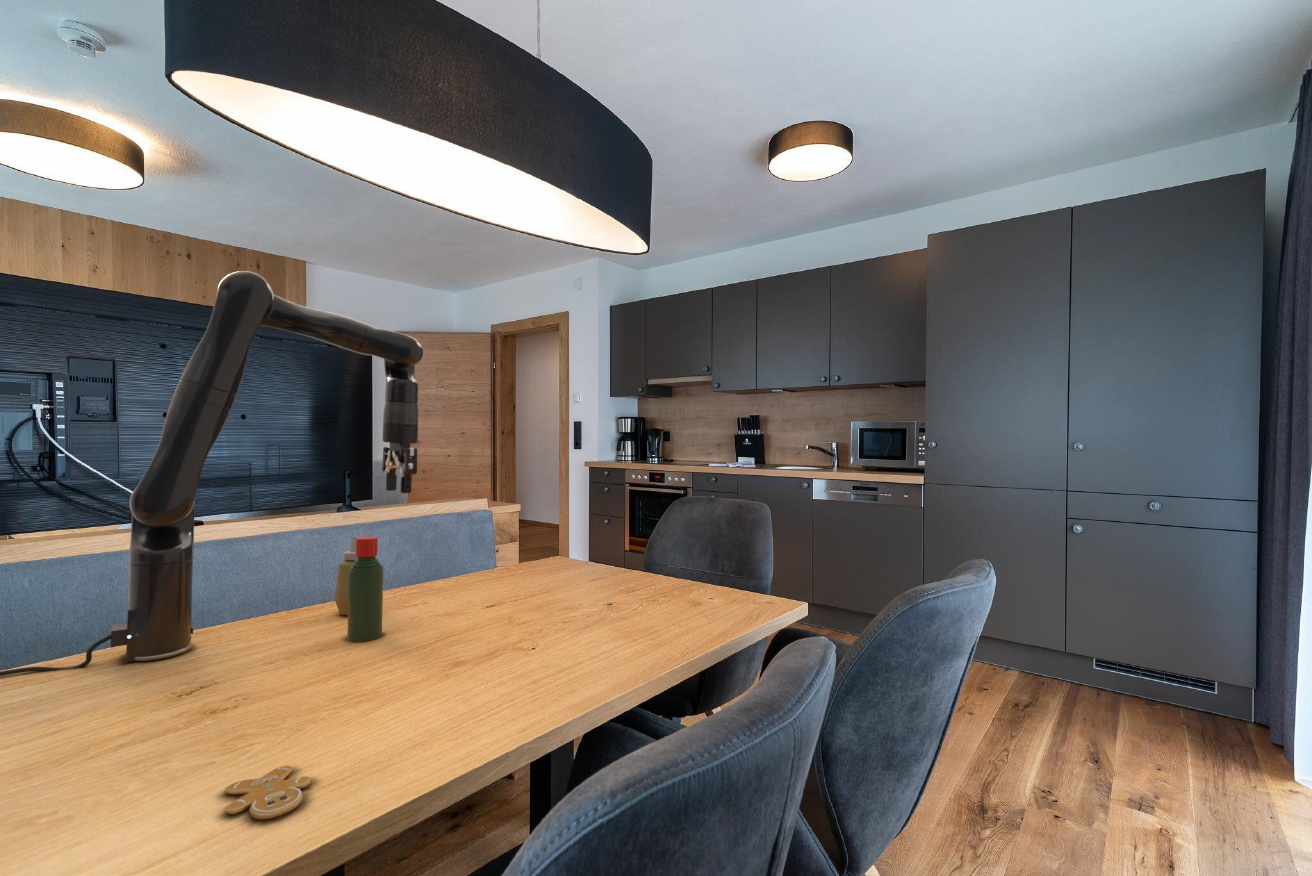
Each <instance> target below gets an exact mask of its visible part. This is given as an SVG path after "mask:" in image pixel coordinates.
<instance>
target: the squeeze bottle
mask: <svg viewBox="0 0 1312 876" xmlns="http://www.w3.org/2000/svg"><path fill="white" fill-rule="evenodd" d="M359 537H360V536H358V535H352V538H351V542H350V546H349V548H348V550H346V551H344V552H343V560H342V561H341V562H340V563H339V564H338V572H337V579H336V588H335V595H334V602H335V605H336V607H337V610H338V613H339V614H340V615H342V616H348V587H349V569H350V567H351V566H352V565H353V563H355V560H357V558H358V557H356V538H359Z"/></svg>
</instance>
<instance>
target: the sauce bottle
mask: <svg viewBox="0 0 1312 876" xmlns="http://www.w3.org/2000/svg"><path fill="white" fill-rule="evenodd" d="M383 602H384V567H383V564H382V563H381V561H379V558H376V556H373V557H358V558H357V560H355V563H353V565H352V566H351V567H350V569H349V587H348V615H347V635H346V636H347V638H346V639H347V641H350V642H354V643H355V642H357V643H358V642H359V643H361V642H362V643H363V642H368V641H373V640H376V639H379V638H380V637H382V636H383V605H384V604H383Z"/></svg>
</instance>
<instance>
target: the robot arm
mask: <svg viewBox="0 0 1312 876" xmlns="http://www.w3.org/2000/svg"><path fill="white" fill-rule="evenodd" d="M260 327H268V328H272V329H278V330H282V331H285V332H290V333H294V334H297V335H301V336H304V337H308V338H310V339H313V340H317V341H320V342H323V343H325V344H329V345H331V346H335V347H336V348H337V347H338V348H340V349H343V350H346V351H349V352H351V353H355V354H359V355H362V356H368V357H370V356H372V357H373V356H374V357H378V358H380V359H383V365H384V374H385V383H386V384H385V396H384V397H385V399H384V408H383V417H382V419H383V420H382V442H383V443H389V446H384V447H383V448H382V461H381V462H382V463H381V464H382V465H381V472H384V475H385V490H386V491H387V492H395V491H396V490H397V483H398V479H397V478H398V472H400V473H399V474H400V485H399V486H400V487H399V488H400V489H399V491H400V493H401V494H410V493H412V483H413V482H412V480H413V477H414V475H417V474H418V447H411V444H417V443H418V441H419V440H418V438H419V437H418V436H419V384H418V381H417V380H416V378H415V377H416V375H415V370H416V369H415V368H416V367H415V366H416V365H417V364H419V363H420V362H421V360H422V359H423V356H424V349H423V346H422V344H421V343H420V342H419V341H418V340H417V339H416V338H414V337H413V336H411V335H407V334H404V333H403V332H402V333H401V332H397V331H393V330H389V329H385V328H380V327H377V326H373V325H372V324H368V323H366V322H364V321H360V320H358V319H355V318H352V317H350V316H347V315H343V314H339V313H337V312H332V311H326V310H320V309H316V308H313V307H308V306H304V305H301V304H298V303H295V302H293V301H289V300H287V299H285V298H283V297H280V296H279V295H276V294H274V292H273V289H272V287H271V285H270V284H269V283H268V281H267V279H265V278H264V277H263V276H261V275H260V274H258V273H255V272H253V271H249V270H239V271H235V272H231V273H229V274H227V275H226V276H225V277H223V278H222V279H221V280H220V282H219V284H218V286H217V290H216V297H215V300H214V304H213V307H212V312H211V315H210V319H209V322H208V324H207V328H206V329H205V333H204V334H203V336H202V337H201V339H200V341H199V343H198V345H197V346H196V347H195V350H193V353H192V355H191V357H190V358H189V360H188V361H187V364H186V366H185V368H184V369H183V372H182V374H181V376H180V378H179V381H178V383H177V385H176V388H175V390H174V393H173V395H172V397H171V400H170V404H169V406H168V409H167V413H166V416H165V419H164V423H163V427H162V431H161V436H160V440H159V443H158V446H157V449H156V450H155V453H154V455H153V457H152V459H151V461H150V463H149V465H148V467H147V468H146V470H145V472H144V474H143V475H142V477H141V479H140V481H139V482H138V484H137V486H136V487H135V488H134V490H133V491H132V493H131V495H130V498H129V509H130V513H131V524H130V525H131V526H130V527H131V528H130V543H129V548H128V549H129V550H128V586H127V587H128V589H127V590H128V591H127V613H126V615H127V616H126V622H124V623H117V624H111V629H110V634H109V635H107V636H105V637H103V638H101V639H100V640H98V641H96V642H94V643H93V644H91V646H89V647H88V649H87V651H86V654H85V660H84V661H83V662H81V663H79V664H78V665H74V666H71V667H50V666H29V667H28V666H27V667H21V668H14V669H6V670H1V671H0V677H2V676H9V675H14V674H23V673H29V672H54V671H62V670H74V669H81V668H85V667H87V666H88V665H89V664H91V661H92V660H93V659H92V658H93V651H94V650H95V649H96V648H97V647H99V646H100V645H103V644H104V643H106V642H108V641H109V640H110V648H115V647H122V646H125V647H126V648H125V649H126V651H125V663H134V662H150V661H157V660H163V659H167V658H171V657H175V656H179V655H182V654H185V653H186V652H188V651H190V650H191V649H192V635H194V628H193V627H192V619H193V618H192V615H193V583H194V582H193V579H194V578H193V577H194V548H195V547H194V545H195V509H196V494H197V490H198V485H199V481H200V478H201V474H202V471H203V467H204V464H205V462H206V460H207V457H208V455H209V453H210V452H211V449H212V448H213V446H214V445H215V443H216V441H217V439H218V438H219V436H220V435H221V432H222V431H223V429H224V426H225V425H226V424H227V423H226V422H227V421H228V419H229V417H230V414H231V412H232V410H233V407H234V404H235V401H236V400H237V396H238V394H239V390H240V388H241V384H242V381H243V378H244V373H245V370H246V365H247V362H248V355H249V352H250V348H251V345H252V344H253V341H254V338H255V336H256V334H257V333H258V331H259V329H260Z"/></svg>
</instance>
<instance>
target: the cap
mask: <svg viewBox="0 0 1312 876" xmlns="http://www.w3.org/2000/svg"><path fill="white" fill-rule="evenodd" d="M358 537H359V538H356V557H373V556H375V557H377V556H378V548H379V547H378V546H379V545H378V543H379V542H378V541H379V540H378V536H374V535H373V536H372V535H371V536H358Z"/></svg>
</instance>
